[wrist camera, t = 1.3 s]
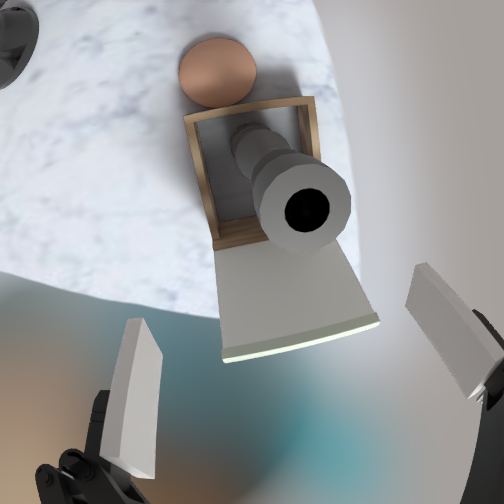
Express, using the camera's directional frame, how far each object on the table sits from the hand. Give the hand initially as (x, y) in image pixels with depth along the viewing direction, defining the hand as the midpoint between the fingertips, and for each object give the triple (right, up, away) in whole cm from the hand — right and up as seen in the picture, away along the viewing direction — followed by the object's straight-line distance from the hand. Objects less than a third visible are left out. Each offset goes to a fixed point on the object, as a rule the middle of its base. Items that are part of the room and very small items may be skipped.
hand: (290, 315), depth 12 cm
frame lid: (+1, +3, +26) cm, 26 cm away
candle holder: (-2, +18, +25) cm, 31 cm away
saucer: (-6, +27, +19) cm, 33 cm away
